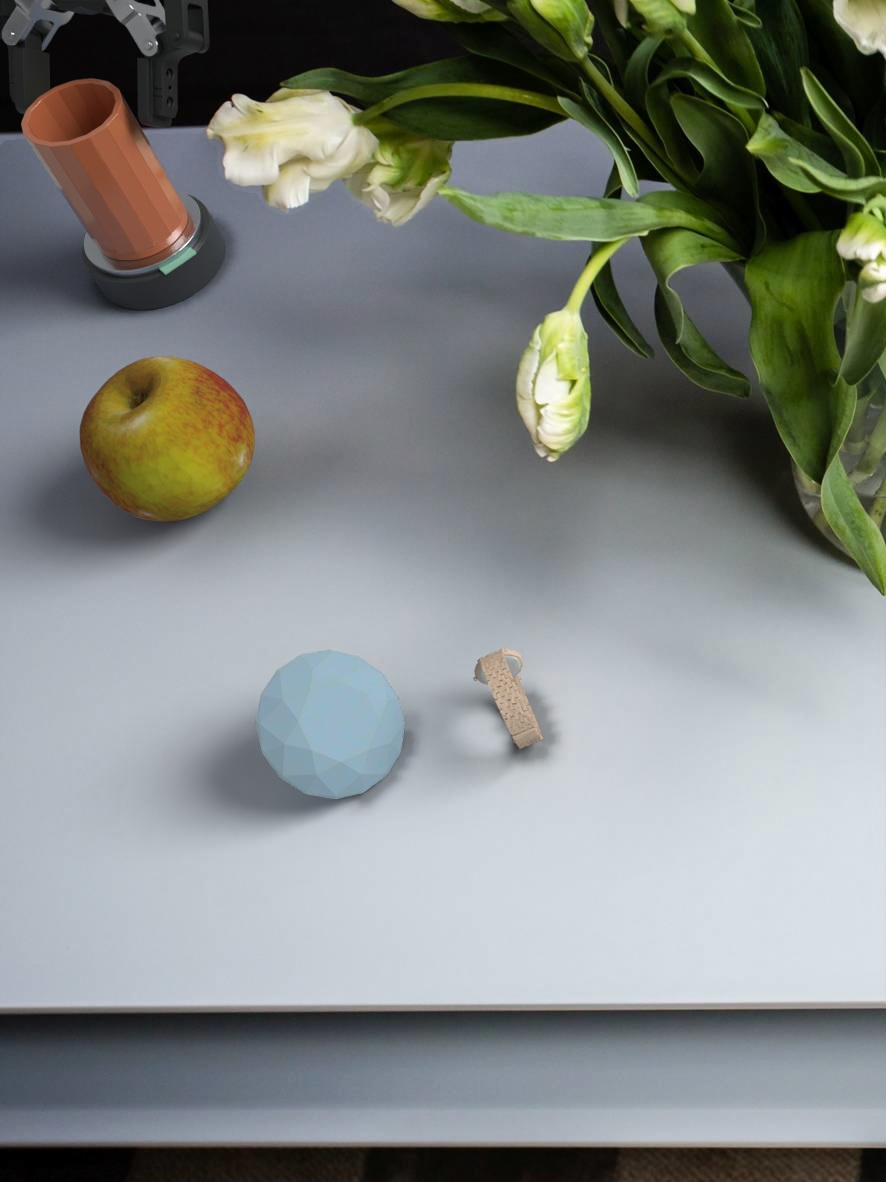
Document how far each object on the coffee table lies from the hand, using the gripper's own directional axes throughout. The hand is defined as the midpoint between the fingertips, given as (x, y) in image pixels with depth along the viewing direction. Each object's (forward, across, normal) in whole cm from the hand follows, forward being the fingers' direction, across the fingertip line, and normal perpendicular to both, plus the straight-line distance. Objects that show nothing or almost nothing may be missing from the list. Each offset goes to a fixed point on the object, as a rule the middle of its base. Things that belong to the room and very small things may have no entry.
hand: (93, 120), depth 98 cm
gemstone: (+31, +28, -16) cm, 44 cm away
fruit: (+20, +11, -5) cm, 24 cm away
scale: (+8, 0, +7) cm, 11 cm away
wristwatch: (+29, +36, -14) cm, 48 cm away
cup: (+6, 0, +5) cm, 8 cm away
